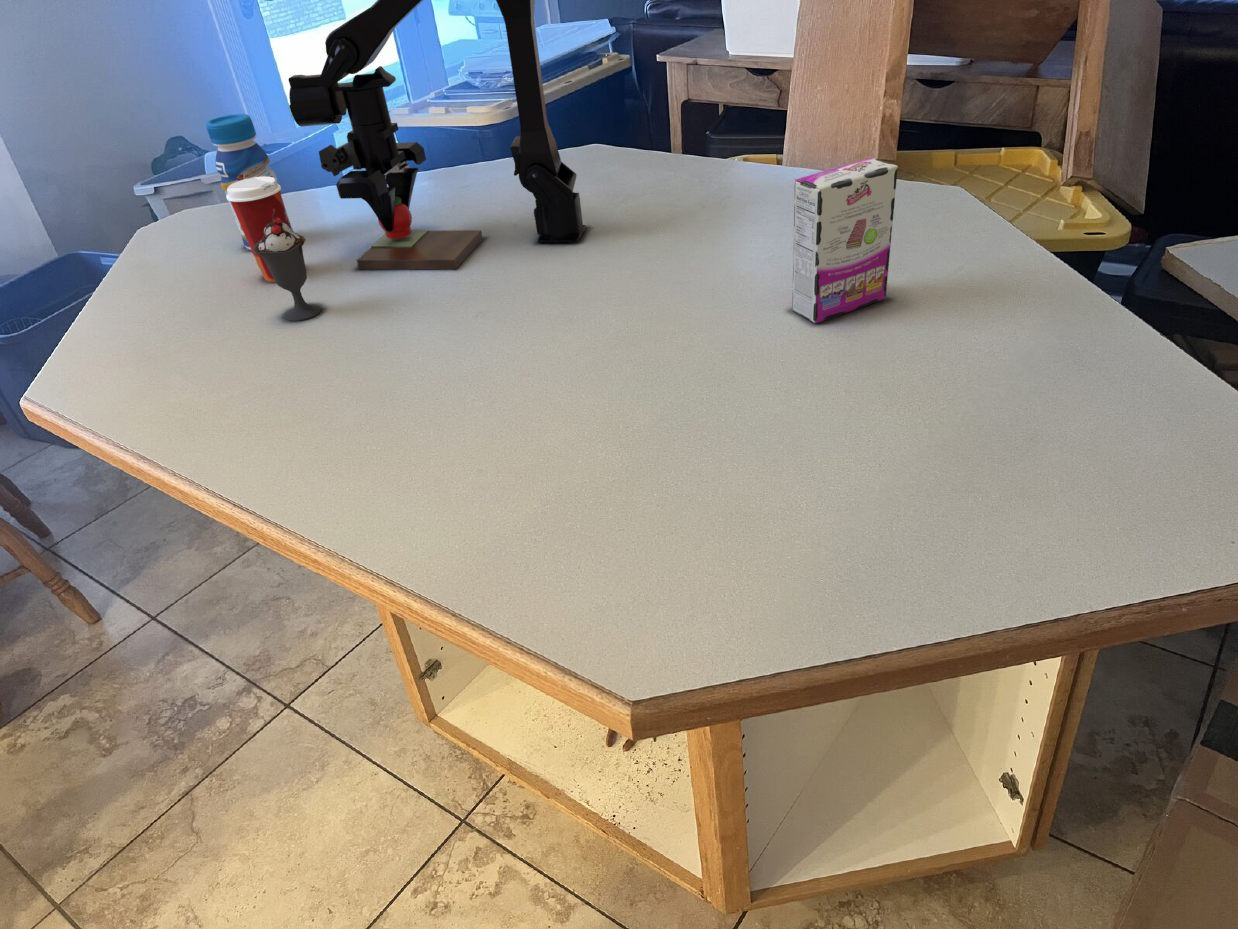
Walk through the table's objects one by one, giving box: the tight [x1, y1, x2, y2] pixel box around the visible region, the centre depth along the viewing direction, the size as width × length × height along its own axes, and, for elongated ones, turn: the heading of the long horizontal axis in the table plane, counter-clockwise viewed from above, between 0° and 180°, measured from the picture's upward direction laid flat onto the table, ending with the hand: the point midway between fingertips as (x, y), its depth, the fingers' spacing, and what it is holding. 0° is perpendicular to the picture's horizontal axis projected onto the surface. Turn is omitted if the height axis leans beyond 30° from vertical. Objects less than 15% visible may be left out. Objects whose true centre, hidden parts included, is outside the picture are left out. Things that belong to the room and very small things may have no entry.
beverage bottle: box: [205, 113, 294, 251], centre depth 133 cm, size 8×8×20 cm
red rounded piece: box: [377, 196, 413, 239], centre depth 129 cm, size 5×5×6 cm
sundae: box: [253, 209, 322, 322], centre depth 110 cm, size 7×7×15 cm
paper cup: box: [226, 176, 290, 283], centre depth 123 cm, size 8×8×14 cm
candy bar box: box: [791, 157, 899, 324], centre depth 97 cm, size 11×5×16 cm, turn 117°
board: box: [356, 229, 484, 270], centre depth 128 cm, size 16×12×2 cm
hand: (397, 224), depth 129 cm, fingers closed on red rounded piece, 5 cm apart
